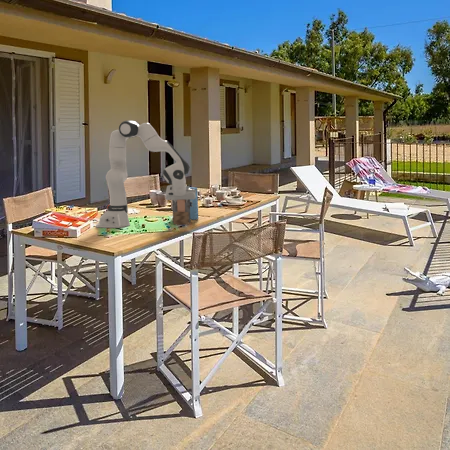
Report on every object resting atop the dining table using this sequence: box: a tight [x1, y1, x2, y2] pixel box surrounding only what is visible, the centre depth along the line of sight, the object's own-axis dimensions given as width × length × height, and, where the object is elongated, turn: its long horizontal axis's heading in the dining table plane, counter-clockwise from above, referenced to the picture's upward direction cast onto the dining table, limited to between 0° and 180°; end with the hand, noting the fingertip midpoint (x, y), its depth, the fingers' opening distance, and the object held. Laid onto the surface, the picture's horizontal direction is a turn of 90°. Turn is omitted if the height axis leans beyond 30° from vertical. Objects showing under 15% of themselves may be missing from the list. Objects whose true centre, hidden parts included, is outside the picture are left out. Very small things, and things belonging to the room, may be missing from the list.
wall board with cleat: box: [171, 186, 191, 226], centre depth 345 cm, size 12×9×25 cm
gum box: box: [189, 186, 199, 220], centre depth 366 cm, size 20×5×23 cm, turn 56°
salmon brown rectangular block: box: [177, 200, 185, 212], centre depth 345 cm, size 5×4×12 cm
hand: (181, 201), depth 346 cm, fingers closed on salmon brown rectangular block, 5 cm apart
